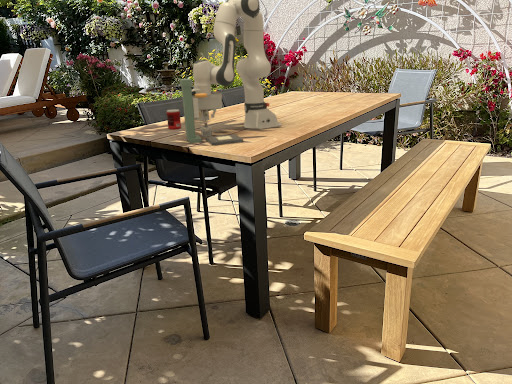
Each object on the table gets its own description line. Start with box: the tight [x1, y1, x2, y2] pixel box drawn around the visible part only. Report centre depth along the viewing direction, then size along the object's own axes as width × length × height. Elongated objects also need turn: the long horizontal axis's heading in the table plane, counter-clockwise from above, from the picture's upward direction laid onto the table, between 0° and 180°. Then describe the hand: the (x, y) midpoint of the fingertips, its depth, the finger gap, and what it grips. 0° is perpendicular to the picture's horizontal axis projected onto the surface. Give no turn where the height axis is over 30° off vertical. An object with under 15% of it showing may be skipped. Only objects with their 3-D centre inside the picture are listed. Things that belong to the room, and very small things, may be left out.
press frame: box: [179, 78, 202, 144], centre depth 206 cm, size 7×8×31 cm
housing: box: [200, 122, 213, 138], centre depth 222 cm, size 5×5×7 cm
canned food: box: [166, 108, 182, 131], centre depth 246 cm, size 8×8×11 cm
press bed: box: [205, 133, 244, 146], centre depth 208 cm, size 16×14×2 cm
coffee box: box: [194, 109, 210, 122], centre depth 271 cm, size 9×6×16 cm
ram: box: [192, 93, 207, 118], centre depth 207 cm, size 8×6×12 cm
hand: (204, 118), depth 220 cm, fingers open, 8 cm apart
